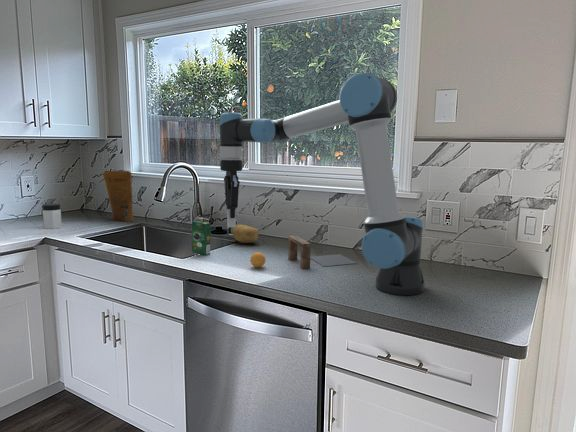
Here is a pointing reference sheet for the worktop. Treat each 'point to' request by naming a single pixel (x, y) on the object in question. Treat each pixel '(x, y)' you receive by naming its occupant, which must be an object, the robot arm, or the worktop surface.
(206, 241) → the coffee box
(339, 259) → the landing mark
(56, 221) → the jar
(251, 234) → the potato
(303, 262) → the bridge
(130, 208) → the pancake mix bag
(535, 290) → the worktop surface
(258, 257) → the ball
